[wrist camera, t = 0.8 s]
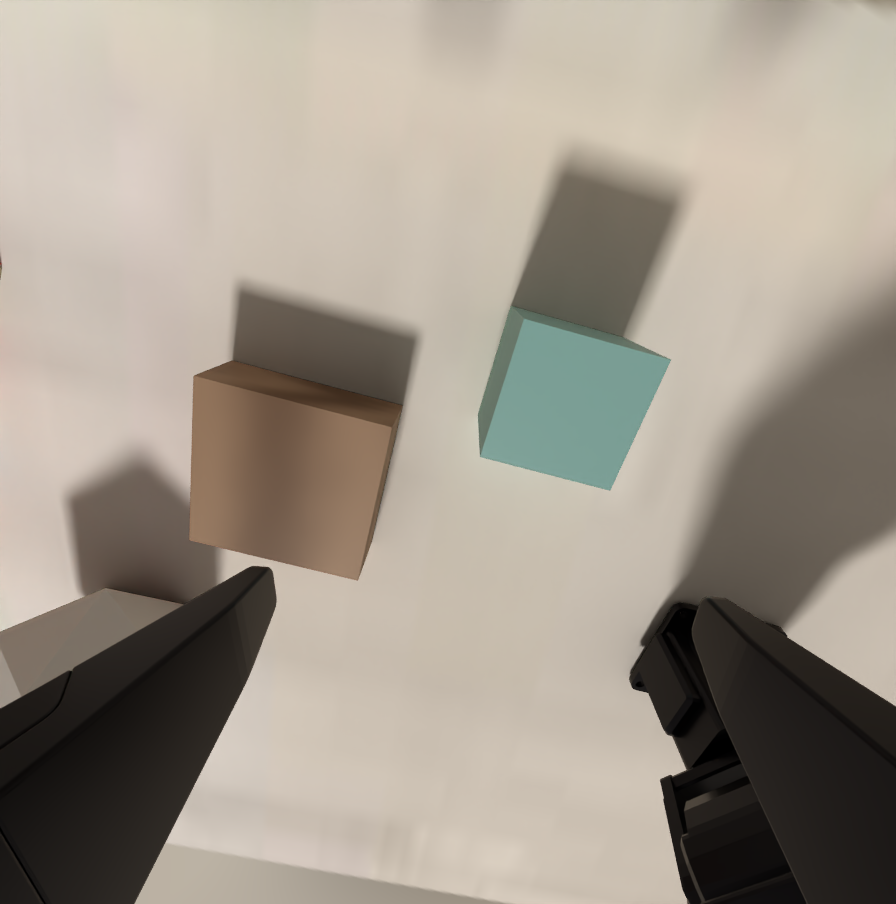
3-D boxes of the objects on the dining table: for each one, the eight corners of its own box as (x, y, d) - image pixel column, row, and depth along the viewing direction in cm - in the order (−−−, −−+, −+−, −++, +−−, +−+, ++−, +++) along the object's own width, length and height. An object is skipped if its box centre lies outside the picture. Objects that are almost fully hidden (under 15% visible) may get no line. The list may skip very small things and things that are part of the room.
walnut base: (402, 405, 20) (392, 427, 18) (371, 543, 23) (357, 580, 21) (232, 360, 20) (193, 375, 17) (222, 507, 23) (189, 540, 20)
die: (131, 521, 25) (-115, 651, 18) (222, 626, 22) (-35, 822, 15) (168, 591, 30) (-10, 708, 24) (244, 681, 27) (63, 840, 21)
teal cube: (622, 336, 19) (670, 359, 14) (579, 440, 21) (610, 490, 16) (510, 305, 19) (523, 318, 14) (477, 414, 20) (480, 456, 16)
